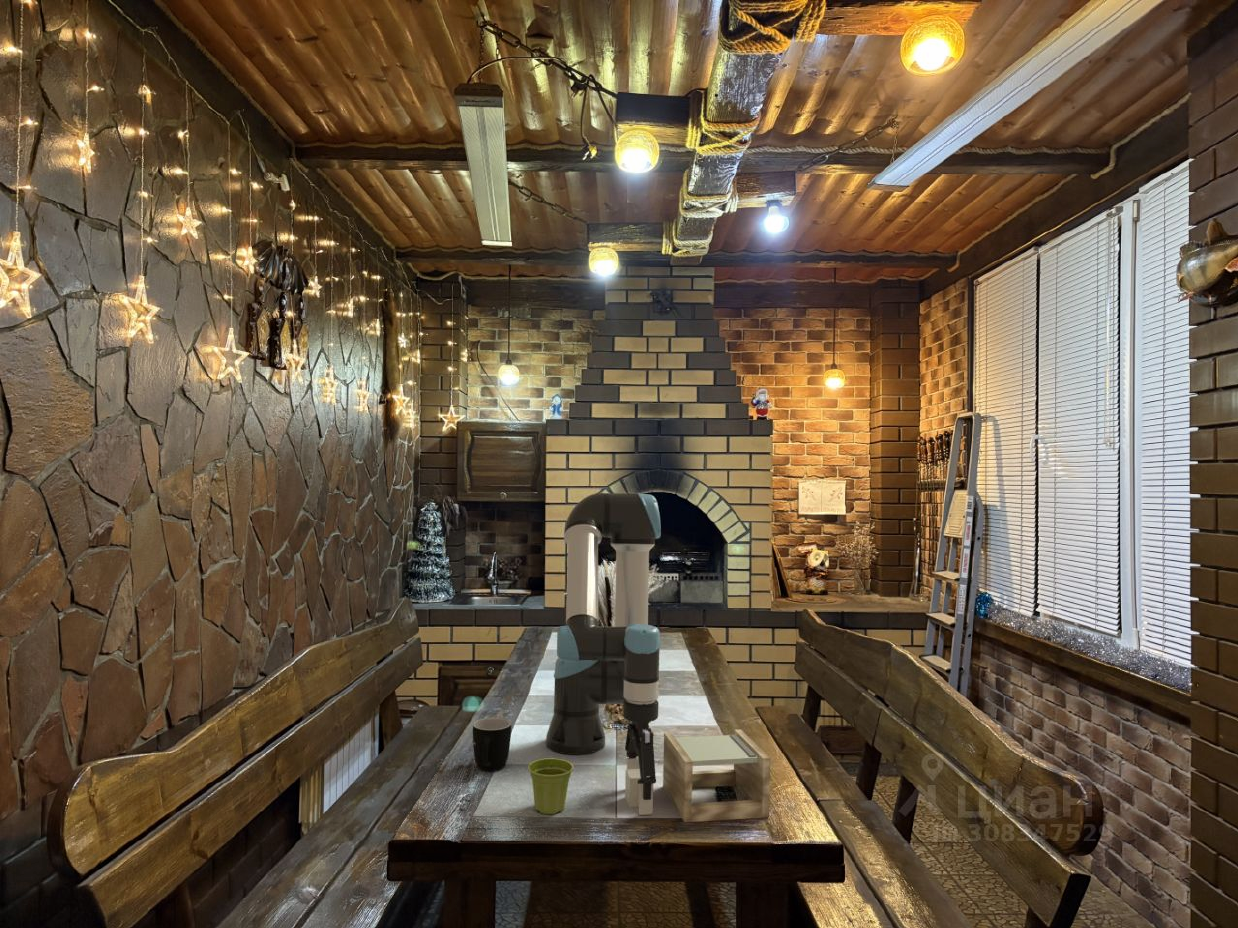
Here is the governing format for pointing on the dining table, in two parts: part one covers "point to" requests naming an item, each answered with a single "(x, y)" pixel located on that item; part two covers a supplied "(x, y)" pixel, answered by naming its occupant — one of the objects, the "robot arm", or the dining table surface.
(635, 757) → the robot arm
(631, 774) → the beige block
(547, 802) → the plant pot
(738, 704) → the dining table surface
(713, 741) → the trapdoor
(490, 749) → the mug
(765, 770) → the hatch frame
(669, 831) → the dining table surface
